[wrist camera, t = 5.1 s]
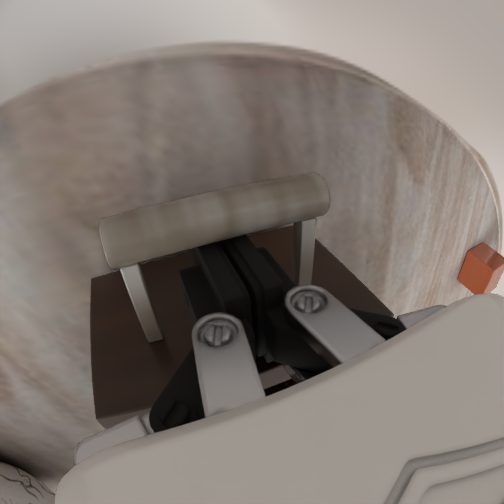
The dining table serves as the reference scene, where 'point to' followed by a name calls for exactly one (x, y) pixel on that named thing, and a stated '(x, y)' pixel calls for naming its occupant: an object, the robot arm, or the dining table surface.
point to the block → (481, 269)
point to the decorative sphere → (22, 487)
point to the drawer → (170, 289)
